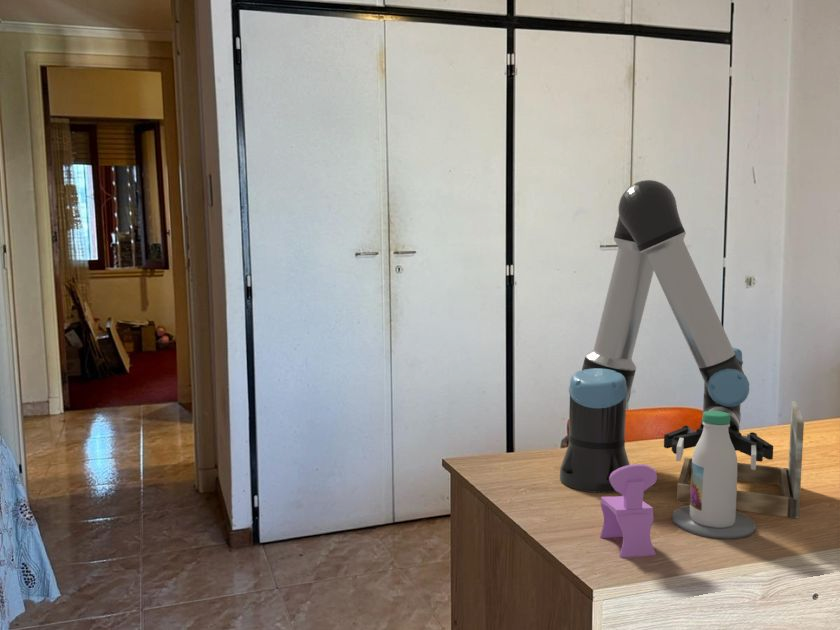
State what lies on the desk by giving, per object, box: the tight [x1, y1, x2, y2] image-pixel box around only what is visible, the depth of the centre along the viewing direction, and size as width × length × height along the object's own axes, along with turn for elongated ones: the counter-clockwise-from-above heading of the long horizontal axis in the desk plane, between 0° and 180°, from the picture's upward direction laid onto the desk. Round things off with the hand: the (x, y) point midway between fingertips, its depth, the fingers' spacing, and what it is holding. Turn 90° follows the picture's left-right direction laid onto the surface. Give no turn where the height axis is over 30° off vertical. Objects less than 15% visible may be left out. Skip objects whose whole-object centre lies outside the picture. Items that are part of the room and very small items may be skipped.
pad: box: [671, 505, 756, 540], centre depth 134 cm, size 14×14×1 cm
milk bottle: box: [689, 411, 738, 528], centre depth 132 cm, size 8×8×20 cm
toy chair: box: [599, 463, 658, 558], centre depth 124 cm, size 8×9×15 cm
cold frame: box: [676, 400, 805, 519], centre depth 149 cm, size 22×20×18 cm
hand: (715, 457), depth 132 cm, fingers open, 12 cm apart
